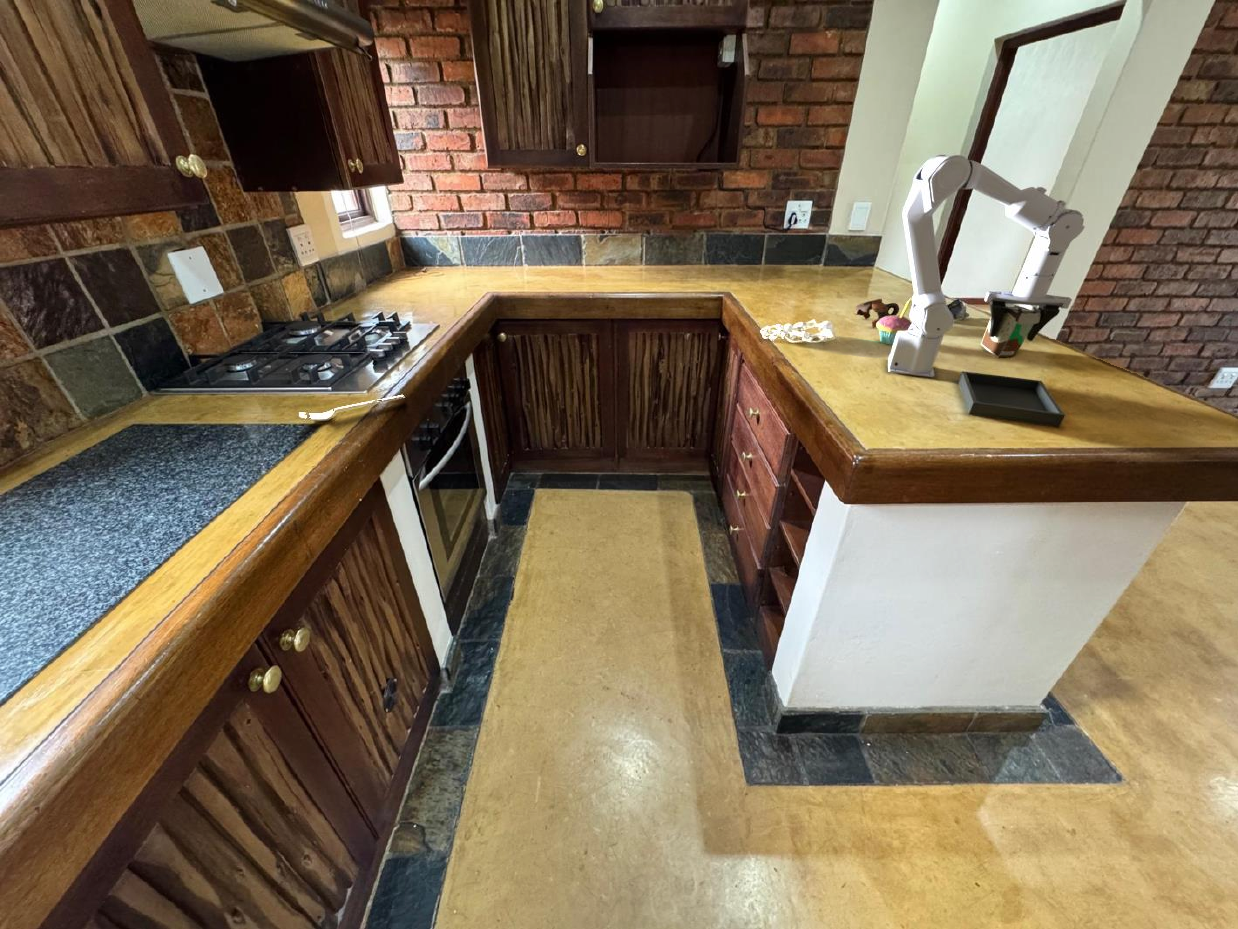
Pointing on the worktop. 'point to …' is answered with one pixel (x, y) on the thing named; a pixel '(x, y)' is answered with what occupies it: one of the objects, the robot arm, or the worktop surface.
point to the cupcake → (892, 326)
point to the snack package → (958, 309)
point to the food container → (1011, 330)
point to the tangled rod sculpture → (804, 336)
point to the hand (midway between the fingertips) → (1010, 337)
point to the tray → (1009, 399)
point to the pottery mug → (876, 310)
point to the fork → (332, 413)
